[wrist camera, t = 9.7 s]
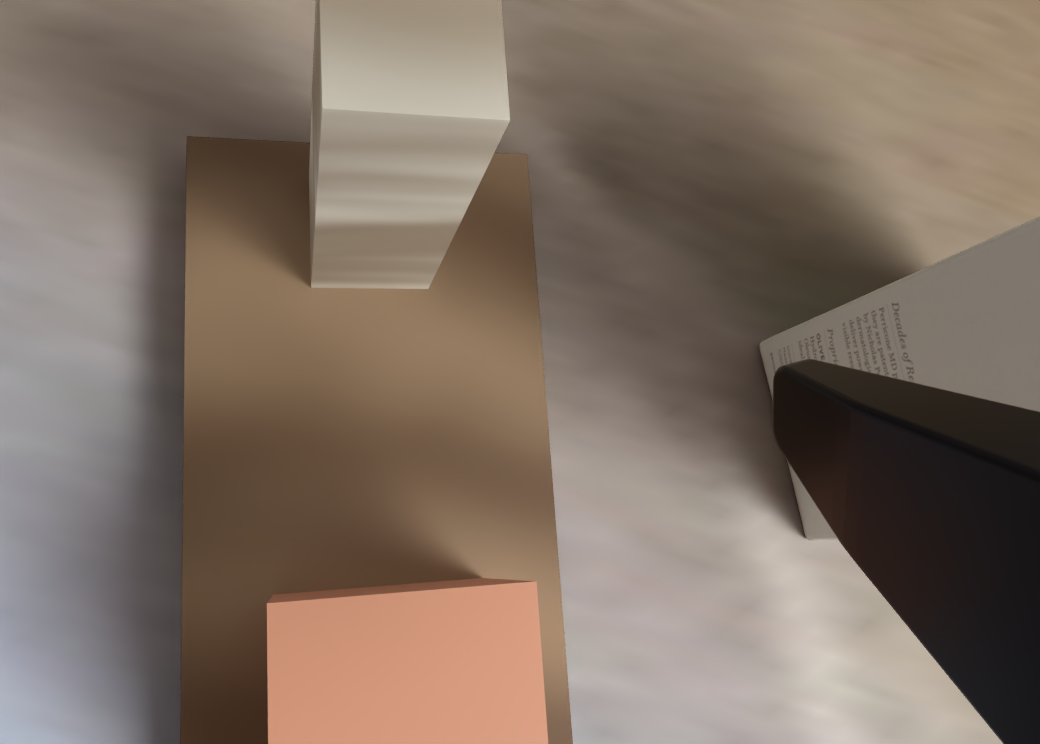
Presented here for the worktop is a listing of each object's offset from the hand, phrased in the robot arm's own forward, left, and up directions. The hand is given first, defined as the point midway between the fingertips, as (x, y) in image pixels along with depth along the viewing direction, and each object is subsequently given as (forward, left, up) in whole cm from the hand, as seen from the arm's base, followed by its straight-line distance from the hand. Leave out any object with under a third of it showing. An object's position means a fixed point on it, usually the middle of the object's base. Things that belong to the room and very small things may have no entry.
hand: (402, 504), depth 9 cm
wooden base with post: (0, -2, -13) cm, 13 cm away
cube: (-3, +2, -12) cm, 13 cm away
